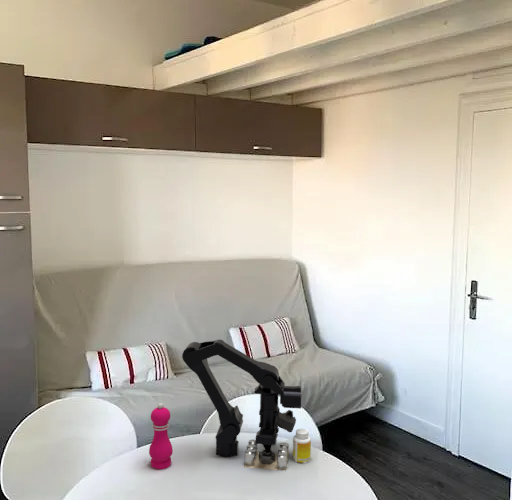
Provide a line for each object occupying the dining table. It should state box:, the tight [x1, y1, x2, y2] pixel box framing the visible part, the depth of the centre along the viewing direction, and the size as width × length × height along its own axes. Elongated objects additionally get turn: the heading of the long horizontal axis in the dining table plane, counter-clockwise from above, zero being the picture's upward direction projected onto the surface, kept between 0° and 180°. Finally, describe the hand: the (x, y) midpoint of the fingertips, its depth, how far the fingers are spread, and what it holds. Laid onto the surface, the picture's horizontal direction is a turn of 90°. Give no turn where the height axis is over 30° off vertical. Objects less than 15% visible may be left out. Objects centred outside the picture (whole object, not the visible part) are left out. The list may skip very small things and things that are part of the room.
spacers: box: [244, 439, 290, 471], centre depth 181 cm, size 13×10×4 cm
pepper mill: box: [148, 402, 174, 470], centre depth 179 cm, size 7×7×20 cm
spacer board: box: [243, 451, 287, 472], centre depth 179 cm, size 13×14×1 cm
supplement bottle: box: [292, 428, 312, 464], centre depth 182 cm, size 6×6×10 cm
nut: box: [258, 449, 276, 465], centre depth 181 cm, size 5×4×3 cm
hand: (268, 453), depth 185 cm, fingers closed
